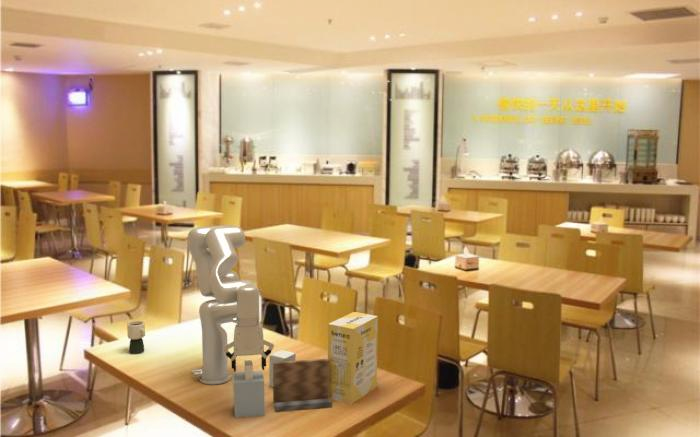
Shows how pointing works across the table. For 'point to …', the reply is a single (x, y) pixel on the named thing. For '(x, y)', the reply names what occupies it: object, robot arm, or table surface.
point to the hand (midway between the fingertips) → (248, 369)
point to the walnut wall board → (301, 385)
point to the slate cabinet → (248, 392)
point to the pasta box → (352, 356)
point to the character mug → (136, 336)
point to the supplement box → (279, 357)
